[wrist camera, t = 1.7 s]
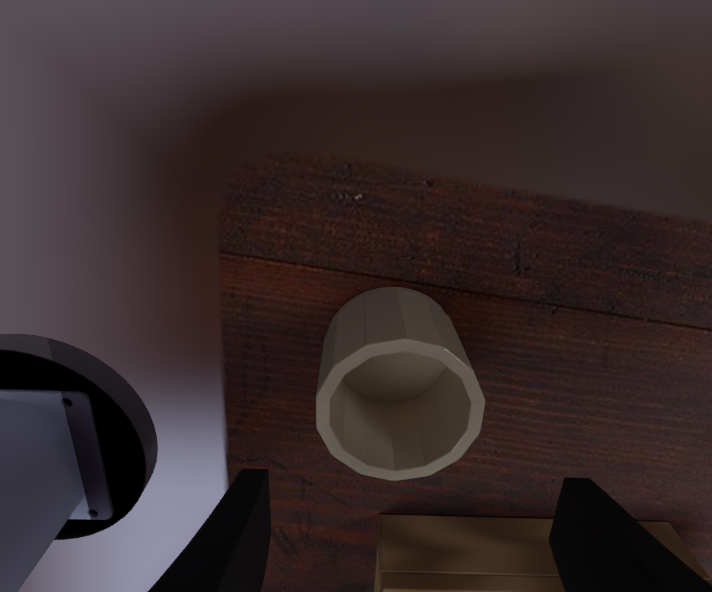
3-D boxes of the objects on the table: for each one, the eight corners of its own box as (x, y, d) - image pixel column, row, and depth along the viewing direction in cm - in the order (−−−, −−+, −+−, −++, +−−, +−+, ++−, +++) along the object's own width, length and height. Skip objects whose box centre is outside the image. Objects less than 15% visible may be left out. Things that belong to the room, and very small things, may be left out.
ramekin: (324, 401, 20) (315, 479, 16) (325, 282, 18) (316, 335, 14) (447, 405, 20) (472, 483, 16) (463, 286, 18) (495, 341, 14)
